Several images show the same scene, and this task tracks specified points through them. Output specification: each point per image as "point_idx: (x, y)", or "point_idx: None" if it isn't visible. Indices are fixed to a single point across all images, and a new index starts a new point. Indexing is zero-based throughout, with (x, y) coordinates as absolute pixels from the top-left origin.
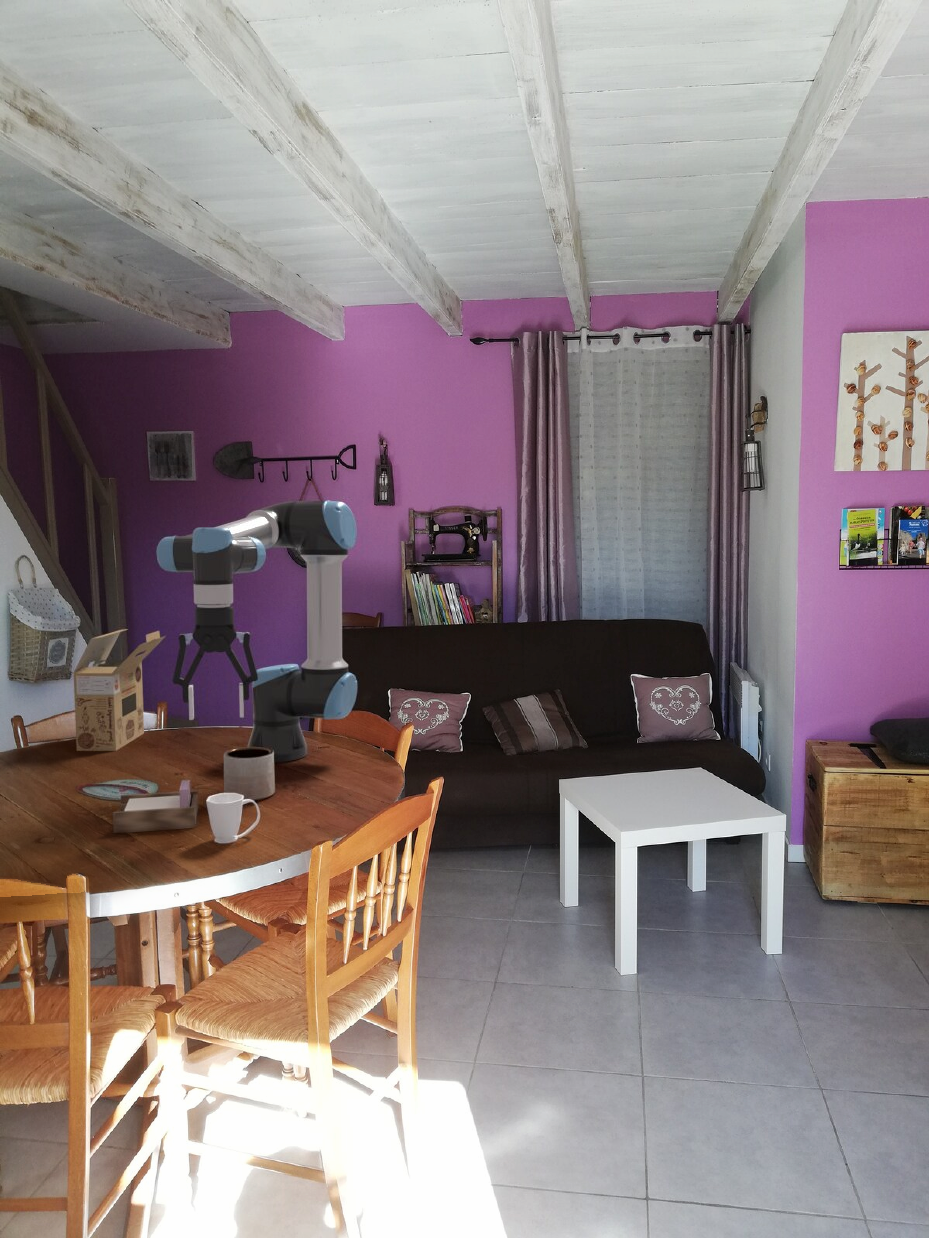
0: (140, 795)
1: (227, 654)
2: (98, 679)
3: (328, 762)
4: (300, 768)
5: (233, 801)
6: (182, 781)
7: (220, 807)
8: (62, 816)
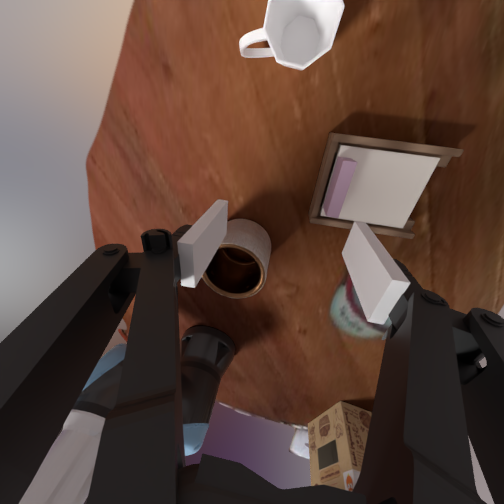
0: (387, 229)
1: (166, 405)
2: None
3: None
4: (189, 304)
5: None
6: (338, 212)
7: None
8: (470, 246)
